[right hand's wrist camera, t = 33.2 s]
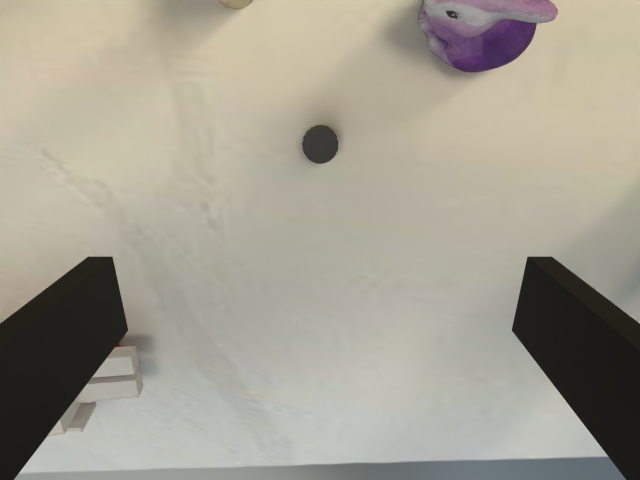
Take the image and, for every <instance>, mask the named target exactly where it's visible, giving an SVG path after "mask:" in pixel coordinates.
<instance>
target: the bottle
mask: <svg viewBox="0 0 640 480" xmlns="http://www.w3.org/2000/svg"><path fill="white" fill-rule="evenodd" d="M216 1H218V2H219V3H220V4H222V5H223V6H225V7H227V8H231V9H240V8H243V7H245V6H247V5H248V4H250V3H251V1H252V0H216Z"/></svg>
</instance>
